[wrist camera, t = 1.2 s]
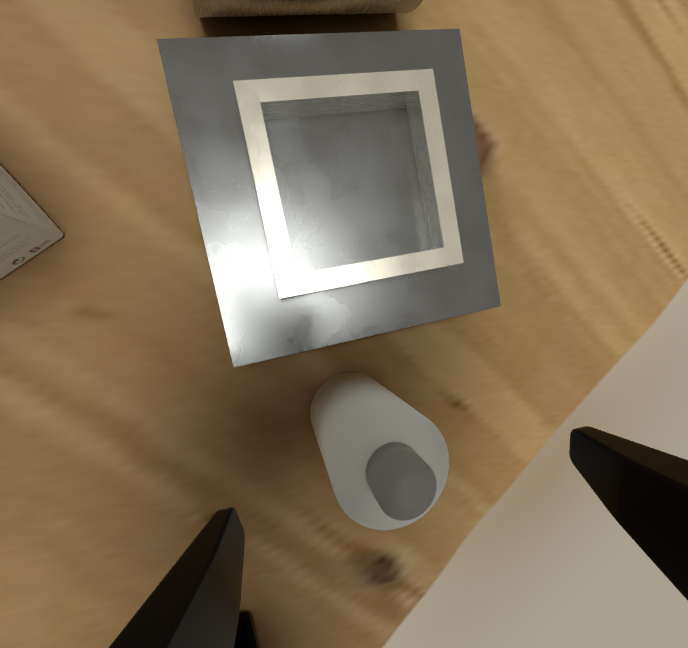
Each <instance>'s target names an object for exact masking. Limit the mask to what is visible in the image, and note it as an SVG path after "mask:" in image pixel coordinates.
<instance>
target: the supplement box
mask: <svg viewBox="0 0 688 648" xmlns="http://www.w3.org/2000/svg"><path fill="white" fill-rule="evenodd" d="M62 237H63V233H62V232H61V231H60V230H59V229H58V227H57V226H56V225H55V224H54V223H53V222H52V221H51V220H50V218H49V217H48V216H47V215H46V214H45V213H44V212H43V211H42V209H41V208H40V207H39V206H38V205H37V204H36V203H35V202H34V201H33V200H32V199H31V197H30V196H29V195H28V194H27V193H26V192H25V191H24V190H23V189H22V188H21V187H20V186H19V184H18V183H17V182H16V181H15V180H14V179H13V178H12V177H11V176H10V175H9V174H8V173H7V171H6V170H5V169H4V168H3V167H2V166H1V165H0V279H1V278H3V277H4V276H6V275H7V274H9V273H10V272H12V271H13V270H15V269H16V268H18V267H19V266H21V265H22V264H24V263H25V262H27V261H28V260H30V259H31V258H33V257H34V256H36V255H37V254H39V253H40V252H42V251H43V250H44V249H46V248H47V247H49V246H50V245H52V244H53V243H55V242H56V241H58V240H59V239H60V238H62Z"/></svg>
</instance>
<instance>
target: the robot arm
mask: <svg viewBox="0 0 688 648" xmlns="http://www.w3.org/2000/svg"><path fill="white" fill-rule="evenodd" d="M569 452H570V453H569V454H570V458H571V461H572V463H573V464H574V466H575V467H576V468H577V470H578V471H579V472H580V474H581V475H582V476H583V478H584V479H585V480H586V481H587V483H588V484H589V485H590V487H591V488H592V489H593V491H594V492H595V493H596V495H597V496H598V497H599V499H600V500H601V501H602V502H603V504H604V505H605V507H606V508H607V509H608V510H609V512H610V513H611V514H612V516H613V517H614V518H615V519H616V520H617V522H618V523H619V524H620V525H621V526H622V527H623V529H624V530H625V531H626V532H627V533H628V534H629V535H630V536H631V537H632V539H633V540H634V541H635V542H636V543H637V544H638V545H639V547H641V549H642V550H643V551H644V552H645V553H646V554H647V556H648V557H649V558H650V559H651V560H652V561H653V562H654V563H655V564H656V566H657V567H658V568H659V569H660V570H661V571H662V572H663V573H664V574H665V576H666V577H667V578H668V579H669V580H670V581H671V582H672V583H673V585H674V586H675V587H676V588H677V589H678V590H679V591H680V592H681V594H682V595H683V596H684V597H685V598H686V599H687V600H688V460H685V459H682V458H679V457H677V456H674V455H671V454H668V453H665V452H662V451H659V450H656V449H653V448H650V447H647V446H645V445H642V444H639V443H636V442H633V441H630V440H627V439H624V438H621V437H618V436H615V435H612V434H609V433H607V432H604V431H601V430H598V429H595V428H592V427H588V426H585V427H581V428H576V429H573V430H572V432H571V434H570V451H569ZM244 542H245V536H244V530H243V527H242V525H241V522H240V519H239V517H238V514H237V511H236V509H235V508H233V507H230V508H226V509H222V510H219V511H217V512H216V513H215V514H214V515H213V517H212V518H211V519H210V520H209V522H208V523H207V524H206V525H205V527H204V528H203V529H202V530H201V532H200V533H199V534H198V536H197V537H196V538H195V539H194V541H193V542H192V543H191V544H190V546H189V547H188V548H187V549H186V551H185V552H184V553H183V554H182V556H181V557H180V558H179V560H178V561H177V562H176V563H175V565H174V566H173V567H172V568H171V570H170V571H169V572H168V573H167V575H166V576H165V577H164V578H163V580H162V581H161V582H160V584H159V585H158V586H157V587H156V589H155V590H154V591H153V592H152V594H151V595H150V596H149V597H148V599H147V600H146V601H145V603H144V604H143V605H142V606H141V608H140V609H139V610H138V611H137V613H136V614H135V615H134V616H133V618H132V619H131V620H130V621H129V623H128V624H127V625H126V627H125V628H124V629H123V630H122V632H121V633H120V634H119V635H118V637H117V638H116V639H115V640H114V642H113V643H112V644H111V645H110V647H109V648H260V647H259V643H258V639H257V635H256V631H255V627H254V622H253V618H252V616H251V615H250V614H249V613H242V614H239V611H240V599H241V585H242V571H243V556H244ZM244 622H245V623H246V624H241V623H244Z"/></svg>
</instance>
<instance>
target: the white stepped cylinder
mask: <svg viewBox="0 0 688 648" xmlns="http://www.w3.org/2000/svg"><path fill="white" fill-rule="evenodd" d="M310 419H311V424H312V427H313V430H314V433H315V436H316V439H317V442H318V445H319V448H320V451H321V454H322V457H323V460H324V463H325V466H326V469H327V472H328V475H329V478H330V481H331V484H332V487H333V490H334V493H335V496H336V499H337V501H338V503H339V505H340V506H341V508H342V510H343V511H344V512H345V513H346V514H347V516H349V517H350V518H351V519H352V520H353V521H355V522H356V523H358V524H360V525H362V526H364V527H367V528H370V529H375V530H393V529H398V528H401V527H405V526H407V525H409V524H411V523H413V522H415V521H417V520H418V519H420V518H421V517H422V516H424V515H425V514H426V513H427V512H428V511H429V510H430V509H431V508H432V507H433V505H434V504H435V503H436V502H437V500H438V499H439V497H440V495H441V493H442V491H443V489H444V487H445V484H446V481H447V477H448V472H449V453H448V448H447V445H446V442H445V439H444V437H443V435H442V434H441V432H440V431H439V429H438V428H437V427H436V425H435V424H434V423H433V422H432V421H430V420H429V419H428V418H426V417H425V416H424V415H422V414H421V413H419V412H418V411H417V410H415V409H414V408H412V407H411V406H410V405H408V404H407V403H406V402H404V401H403V400H401V399H400V398H399V397H397V396H396V395H395V394H393V393H392V392H390V391H389V390H388V389H386V388H385V387H384V386H382V385H381V384H379V383H378V382H377V381H375V380H374V379H372V378H371V377H369V376H368V375H366V374H363V373H359V372H343V373H339V374H336V375H334V376H332V377H330V378H329V379H327V380H326V381H325V382H324V383H323V384H322V385H321V386H320V387H319V388H318V390H317V391H316V393H315V395H314V397H313V399H312V403H311V407H310Z"/></svg>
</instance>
